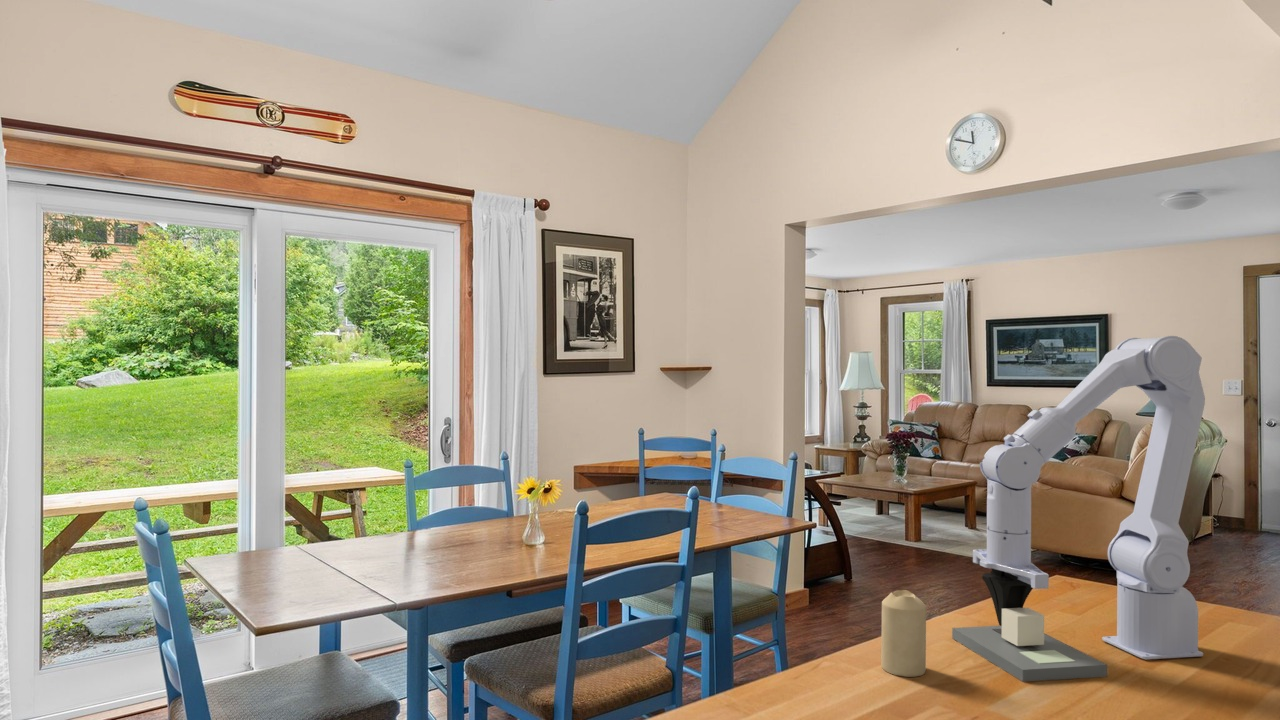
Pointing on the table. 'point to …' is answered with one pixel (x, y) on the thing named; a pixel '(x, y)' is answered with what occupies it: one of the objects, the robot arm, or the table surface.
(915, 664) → the candle
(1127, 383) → the robot arm
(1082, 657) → the slider board
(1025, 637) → the knob
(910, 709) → the table surface
